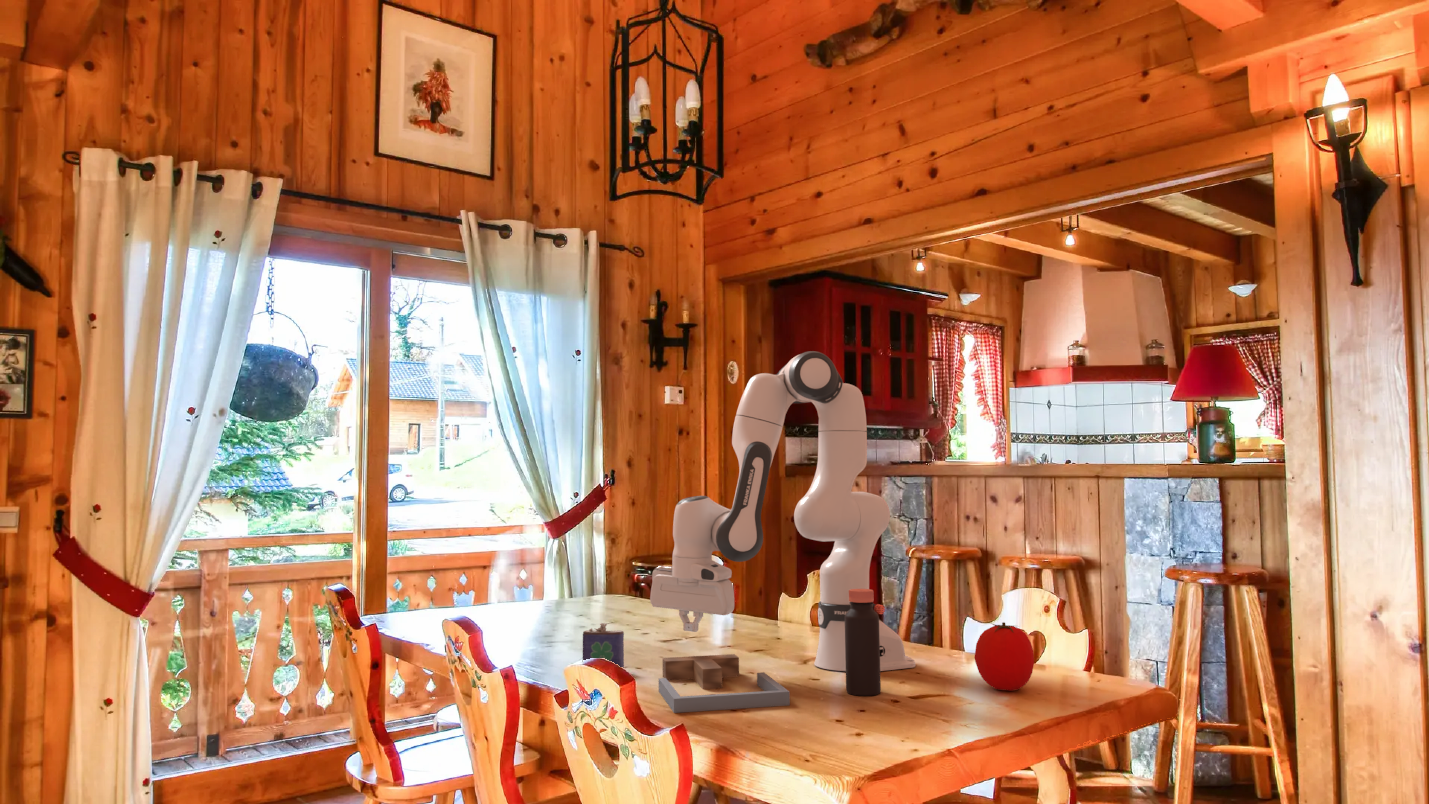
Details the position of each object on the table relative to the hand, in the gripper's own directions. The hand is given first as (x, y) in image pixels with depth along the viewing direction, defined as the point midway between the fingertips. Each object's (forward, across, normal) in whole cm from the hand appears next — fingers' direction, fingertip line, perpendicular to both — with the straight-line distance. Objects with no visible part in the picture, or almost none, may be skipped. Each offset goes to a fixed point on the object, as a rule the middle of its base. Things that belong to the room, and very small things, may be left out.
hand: (690, 631), depth 209 cm
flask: (+9, -16, -10) cm, 21 cm away
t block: (+8, +9, -9) cm, 15 cm away
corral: (+7, +19, -20) cm, 29 cm away
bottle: (+7, +42, -4) cm, 43 cm away
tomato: (+6, +66, +11) cm, 68 cm away
